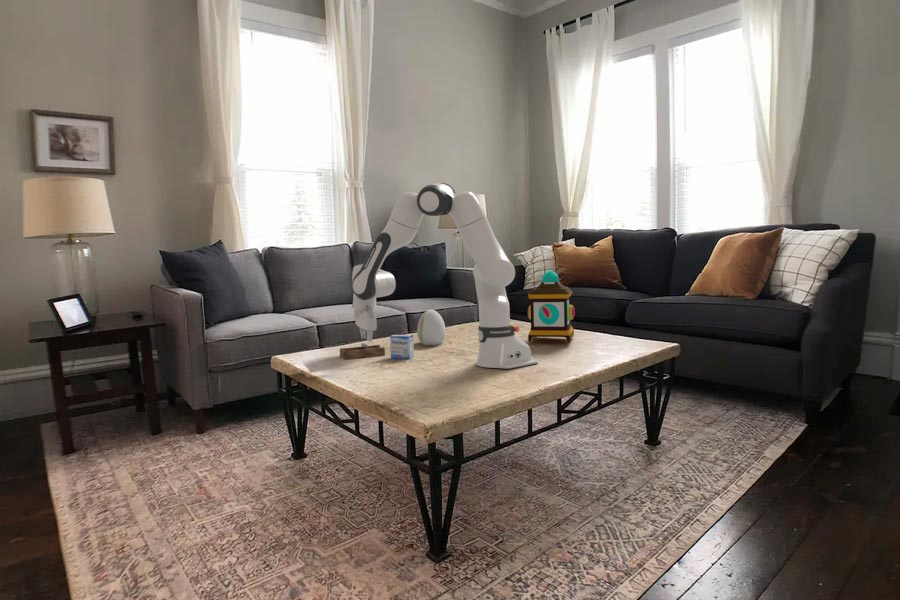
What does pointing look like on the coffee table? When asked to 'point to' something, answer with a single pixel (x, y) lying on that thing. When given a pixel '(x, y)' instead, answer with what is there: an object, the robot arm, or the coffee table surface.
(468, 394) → the coffee table surface
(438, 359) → the coffee table surface
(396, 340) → the medicine box
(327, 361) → the coffee table surface
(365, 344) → the pusher
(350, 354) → the wooden tray
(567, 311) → the decorative lantern
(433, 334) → the decorative egg
